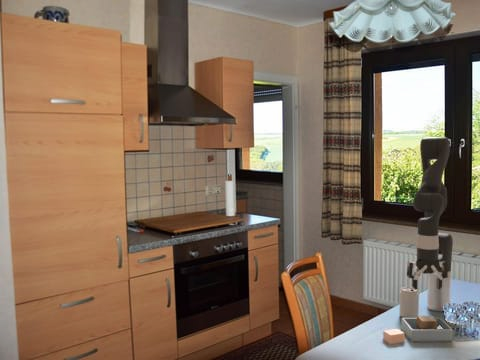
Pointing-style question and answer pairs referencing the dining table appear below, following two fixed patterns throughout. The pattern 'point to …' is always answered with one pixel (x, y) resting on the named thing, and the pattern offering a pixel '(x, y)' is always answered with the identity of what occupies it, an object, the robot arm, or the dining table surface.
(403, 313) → the can
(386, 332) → the light box
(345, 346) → the dining table surface
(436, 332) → the tote
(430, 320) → the block
